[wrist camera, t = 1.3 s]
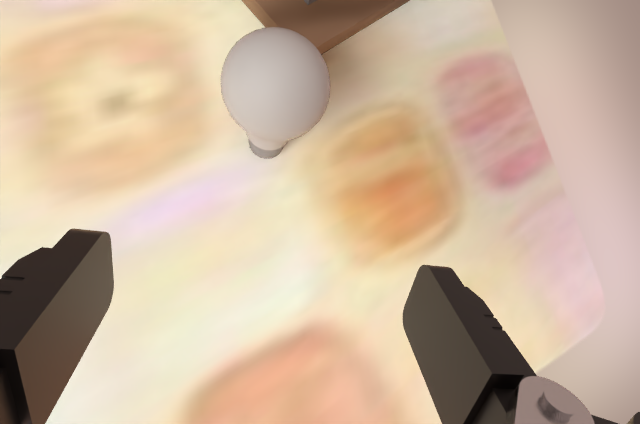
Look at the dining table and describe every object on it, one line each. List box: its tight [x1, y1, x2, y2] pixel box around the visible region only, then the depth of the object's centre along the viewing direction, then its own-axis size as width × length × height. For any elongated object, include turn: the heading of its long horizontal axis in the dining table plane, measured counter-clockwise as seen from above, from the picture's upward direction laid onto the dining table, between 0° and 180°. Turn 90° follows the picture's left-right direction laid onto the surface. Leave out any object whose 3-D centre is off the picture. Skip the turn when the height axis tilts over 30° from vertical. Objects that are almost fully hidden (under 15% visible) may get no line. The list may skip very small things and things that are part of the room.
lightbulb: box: [221, 27, 330, 158], centre depth 24 cm, size 6×6×11 cm
